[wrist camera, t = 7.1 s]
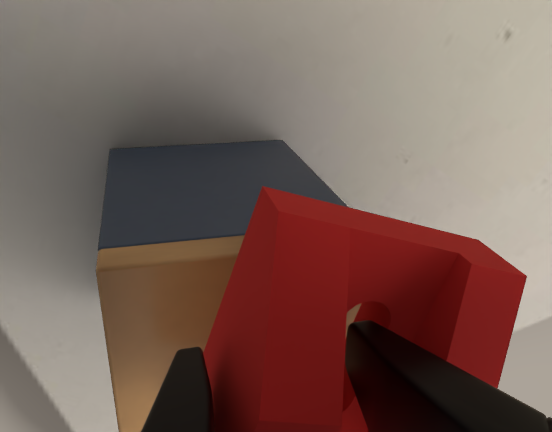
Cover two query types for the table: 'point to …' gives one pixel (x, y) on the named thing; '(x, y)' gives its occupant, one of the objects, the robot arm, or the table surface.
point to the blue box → (197, 190)
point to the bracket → (345, 310)
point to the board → (160, 312)
